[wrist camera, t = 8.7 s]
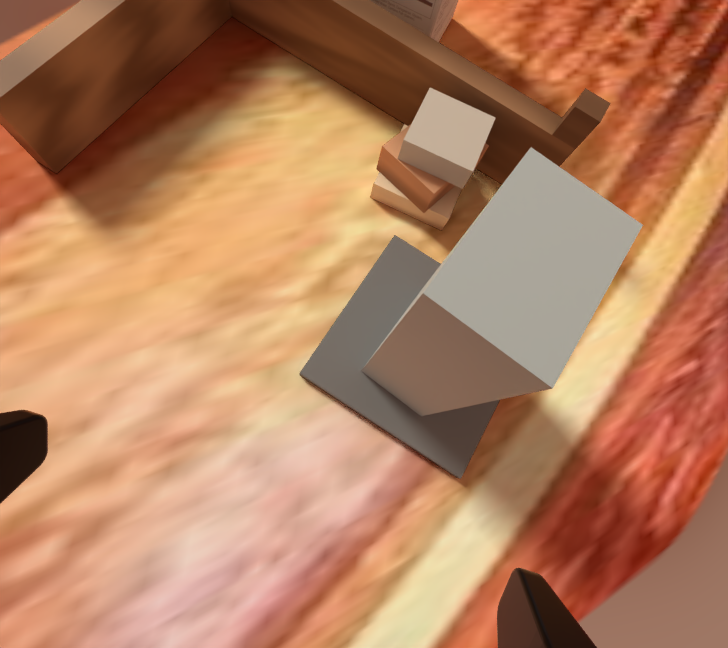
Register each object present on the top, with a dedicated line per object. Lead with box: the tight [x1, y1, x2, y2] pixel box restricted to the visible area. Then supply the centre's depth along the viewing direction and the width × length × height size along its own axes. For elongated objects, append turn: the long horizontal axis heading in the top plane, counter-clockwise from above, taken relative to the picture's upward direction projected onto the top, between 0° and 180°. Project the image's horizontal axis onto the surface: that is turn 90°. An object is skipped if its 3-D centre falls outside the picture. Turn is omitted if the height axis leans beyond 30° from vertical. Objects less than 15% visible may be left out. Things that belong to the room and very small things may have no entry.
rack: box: [0, 0, 610, 184], centre depth 22 cm, size 18×26×7 cm
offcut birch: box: [370, 124, 462, 231], centre depth 26 cm, size 5×5×2 cm
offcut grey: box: [398, 88, 495, 189], centre depth 22 cm, size 4×4×2 cm
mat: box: [300, 235, 500, 479], centre depth 23 cm, size 10×10×1 cm
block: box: [361, 147, 643, 416], centre depth 17 cm, size 6×4×12 cm, turn 144°
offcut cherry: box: [377, 124, 489, 213], centre depth 24 cm, size 5×4×2 cm
